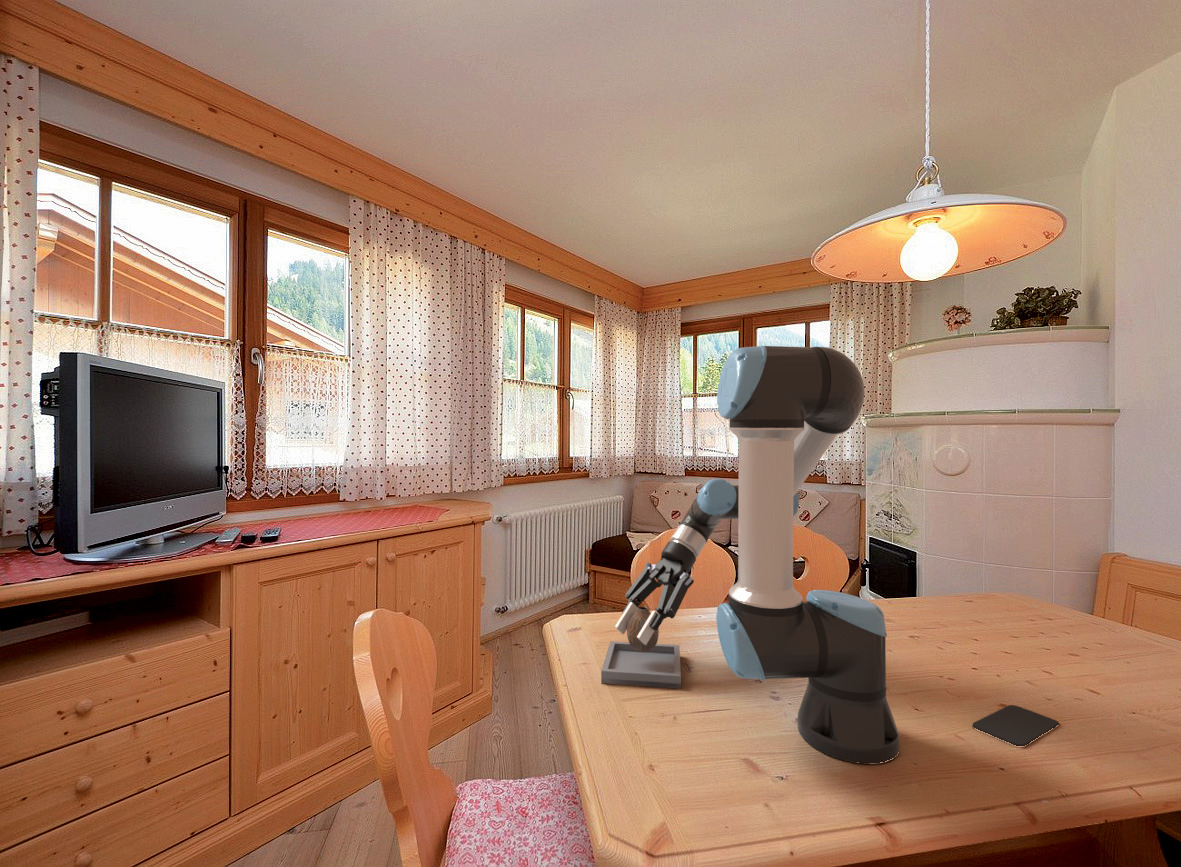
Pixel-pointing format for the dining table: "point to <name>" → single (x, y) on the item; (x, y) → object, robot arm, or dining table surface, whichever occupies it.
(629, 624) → the vase
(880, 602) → the dining table surface
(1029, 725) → the phone
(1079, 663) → the dining table surface
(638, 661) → the tray
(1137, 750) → the dining table surface
